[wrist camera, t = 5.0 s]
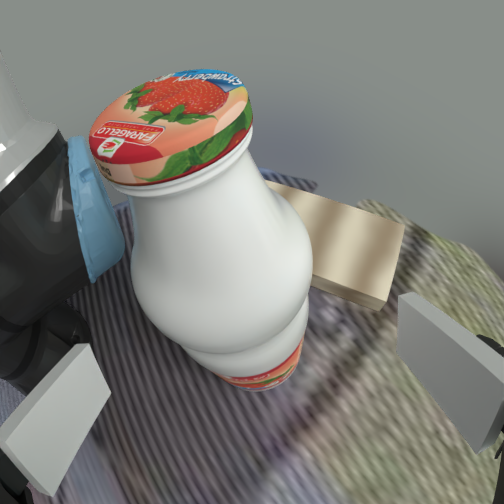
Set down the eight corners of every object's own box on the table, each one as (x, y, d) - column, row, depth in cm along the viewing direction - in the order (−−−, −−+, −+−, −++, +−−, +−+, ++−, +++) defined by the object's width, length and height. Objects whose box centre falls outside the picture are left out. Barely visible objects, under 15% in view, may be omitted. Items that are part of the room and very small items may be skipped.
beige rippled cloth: (227, 253, 38) (222, 240, 35) (264, 194, 43) (262, 179, 40) (378, 311, 31) (386, 301, 29) (398, 239, 36) (404, 225, 34)
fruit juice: (314, 330, 31) (366, 62, 8) (275, 407, 27) (203, 330, 4) (239, 297, 34) (156, 48, 11) (198, 367, 30) (-8, 185, 7)
